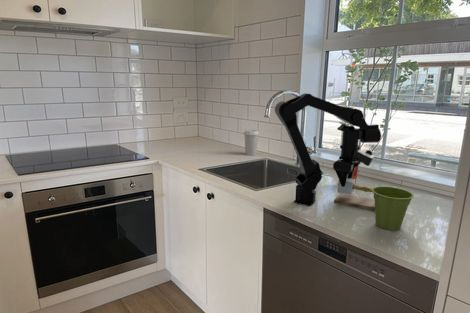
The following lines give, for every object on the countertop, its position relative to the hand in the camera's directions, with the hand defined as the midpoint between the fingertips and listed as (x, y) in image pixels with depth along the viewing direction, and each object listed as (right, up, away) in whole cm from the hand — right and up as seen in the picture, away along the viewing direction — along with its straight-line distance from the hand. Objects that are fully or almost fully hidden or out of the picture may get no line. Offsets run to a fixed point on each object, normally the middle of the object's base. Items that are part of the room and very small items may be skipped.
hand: (346, 183), depth 125 cm
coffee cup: (-32, +11, +82) cm, 89 cm away
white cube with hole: (0, -3, +1) cm, 3 cm away
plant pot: (+7, -12, -20) cm, 24 cm away
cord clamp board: (+5, -7, -1) cm, 9 cm away
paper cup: (+9, -2, +24) cm, 25 cm away
